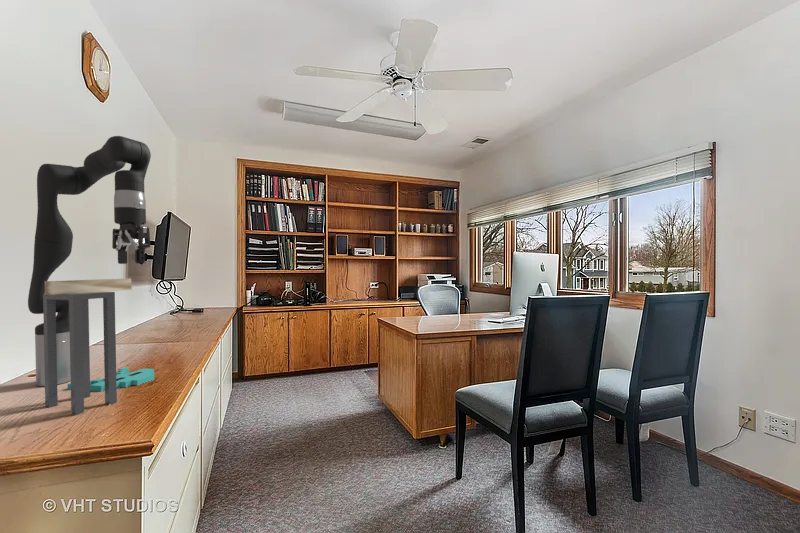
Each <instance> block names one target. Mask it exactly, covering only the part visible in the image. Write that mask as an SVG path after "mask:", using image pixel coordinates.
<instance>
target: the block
mask: <svg viewBox="0 0 800 533" xmlns="http://www.w3.org/2000/svg"><path fill="white" fill-rule="evenodd" d="M118 291H119V292H121V291H132V278H103V279H74V280H69V279H68V280H48V281H45V295H56V294H72V293H89V292H118Z"/></svg>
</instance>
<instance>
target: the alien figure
mask: <svg viewBox="0 0 800 533" xmlns="http://www.w3.org/2000/svg"><path fill="white" fill-rule="evenodd" d="M151 380H152V381H154V380H155V368H142V369H137V370H134V371H132V372H130V370H129V367H121V368H118V369H117V372H116V383H117V389H119V388H125V387H126V388H129V387H131V385H132V386H133V385H138V386H140V384H141V385H143V384H142V383H144V384H146V383H145V382H147V383H149V382H152V381H151ZM148 381H149V382H148ZM128 386H129V387H128ZM67 390H70V391H71V382H70V383H67ZM90 392H105V378H97V379H93V380H91V379H90Z"/></svg>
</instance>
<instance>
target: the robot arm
mask: <svg viewBox="0 0 800 533" xmlns="http://www.w3.org/2000/svg"><path fill="white" fill-rule="evenodd" d="M151 156H152V154H151V150H150V148H149V147H148V145H147V144H146V143H144V142H142V141H139V140H136V139H132V138H129V137H125V136H121V135H115V136H110V137H109V138H108V139H107V140H106V141H105V143H104V144H103V145H102V147H101V148H100V149H97V150H96V151H93V152H92V153H89V154H88V155H87V156H86V157H85V159H84V160H83V165H82V166H72V165H67V164H66V165H63V164H56V163H42V164H41V165H40V166H39V168H38V170H37V175H36V193H37V194H36V196H37V198H36V199H37V212H36V213H37V214H36V215H37V216H36V224H35V225H36V226H35V227H36V228H35V234H34V241H33V242H34V244H33V246H34V247H33V265H32V274H31V279H30V283H29V284H30V285H29V291H28V298H27V307H28V310H29V312H30V313H31V314H35V315H41V314H42V315H43V294H45V281H49V279H50V277H51V276H52V274H53V273H54V272H55V271H56V270H57V269H58V268H59V267H60V266H61V265H62V264H63V263H65V262H66V260H67V259H68V258H69V257H70V256H71V253H72V248H73V243H74V242H73V240H74V234H73V230H72V229H71V226H70V225H69V224H68V223H67V221H66V220H65V219H64V217H63V215H62V214H61V213H60V210H59V206H58V196H59V195H70V196H75V195H80V194H83V193H84V192H86V191H87V190H88V189H90V188H91V187H93V185H95V184H96V183H97V182H99V181H100V180H101V179H103V178H104V177H106V176H108V175H112V174H113V173H115V174H114V196H113V211H114V212H113V213H114V215H113V217H114V218H113V219H114V220H113V221H114V223H115V224H117V225H119V228H113V229H112V239H111V240H112V243H111V244H112V249H113V250H115V251H117V263H118V265H120V264H121V265H122V264H123V265H126V264H128V248H129V246H131V245H132V246H133V247H134V263H135V264H145V262H146V257H145V254H146V252H145V251H146V250H147V249H148V248H150V247H151V237H150V236H151V235H150V227H149V226H145V225H146V224H147V212H146V211H147V209H146V208H147V205H146V195H145V179H146V178H145V177H146V175H147V171H148V168H149V165H150V162H151ZM126 164H130V168H129V169H123V168H124V167H125V166H126ZM34 335H35V336H34V341H35V342H34V344H35V346H34V347H35V386H36V387H45V365H44V322H43V323H39V324H37V325H36V326H35V327H34ZM56 345H57V385H61V384H65V383H68V382H71V374H70V323H69V300H56Z"/></svg>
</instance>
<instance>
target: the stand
mask: <svg viewBox="0 0 800 533" xmlns="http://www.w3.org/2000/svg"><path fill="white" fill-rule="evenodd" d="M115 292H116V291H106V292H89V293H72V294H56V295H45V294H43V314H42V315H43V323H44V365H45V386H44V396H45V397H44V404H45V405H44V407H46V408H52V407H57V406H58V404H59V402H58V398H59V397H58V384H57V345H56V316H57V312H56V300H69V323H70V374H71V381H70V383H71V390H70V406H71V407H70V409H71V410H70V412H71V413H70V414H71V415H74V416H76V415H80V413H81V414H83V412H84V413H85V398H89V397H91V391H90V380H91V365H90V364H91V363H90V362H91V361H90V360H91V359H90V317H89V316H90V315H89V314H90V313H89V312H90V311H89V310H90V308H89V300H95V299H102V309H103V310H102V311H103V313H102V314H103V316H102V318H103V319H102V320H103V356H104V357H103V359H104V360H103V364H104V366H103V367H104V379H105V390H104V404H105V405H107V404H111V405H113V403H114V404H117V403H118V395H117V393H118V391H117V389H118V388H117V383H116V375H117V349H116V348H117V343H116V340H117V337H116V336H117V335H116V332H117V331H116V295H115V294H116V293H115ZM116 402H117V403H116Z"/></svg>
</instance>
